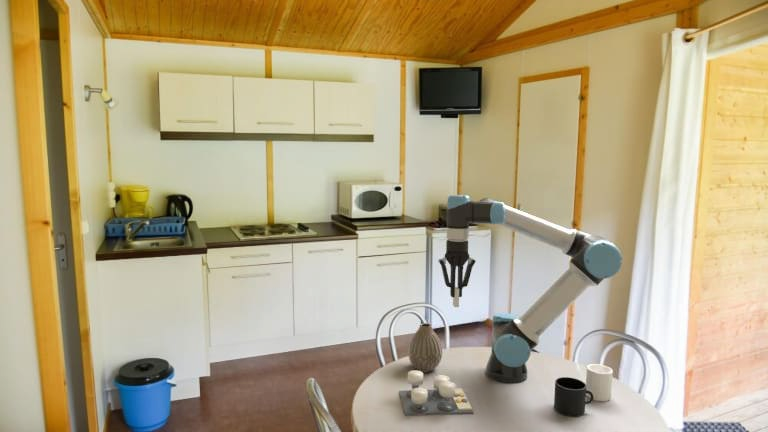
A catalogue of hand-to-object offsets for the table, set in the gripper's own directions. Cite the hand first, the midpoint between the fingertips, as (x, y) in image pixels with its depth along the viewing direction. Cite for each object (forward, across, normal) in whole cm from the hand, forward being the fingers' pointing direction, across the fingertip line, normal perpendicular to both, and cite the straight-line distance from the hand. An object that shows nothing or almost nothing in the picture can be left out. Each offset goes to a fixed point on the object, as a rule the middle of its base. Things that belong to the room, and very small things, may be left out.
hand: (455, 305), depth 177 cm
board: (+29, +9, +12) cm, 33 cm away
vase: (+30, +8, -15) cm, 34 cm away
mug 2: (+30, -48, +9) cm, 57 cm away
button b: (+26, +6, +16) cm, 31 cm away
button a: (+28, +6, +7) cm, 30 cm away
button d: (+28, +15, +16) cm, 36 cm away
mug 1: (+30, -35, +20) cm, 50 cm away
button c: (+26, +15, +7) cm, 31 cm away
